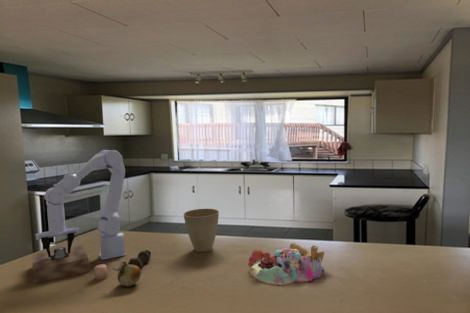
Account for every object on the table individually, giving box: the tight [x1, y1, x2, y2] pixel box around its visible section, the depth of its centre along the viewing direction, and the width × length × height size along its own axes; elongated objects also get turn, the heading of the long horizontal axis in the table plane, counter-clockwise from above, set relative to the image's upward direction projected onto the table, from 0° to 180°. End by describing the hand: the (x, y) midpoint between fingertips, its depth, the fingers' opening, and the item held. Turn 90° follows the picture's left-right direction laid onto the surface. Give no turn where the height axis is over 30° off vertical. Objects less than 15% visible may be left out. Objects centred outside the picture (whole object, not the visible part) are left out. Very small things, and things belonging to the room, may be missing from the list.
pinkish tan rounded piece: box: [94, 263, 109, 281], centre depth 127 cm, size 4×4×4 cm
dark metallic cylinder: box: [53, 246, 67, 260], centre depth 136 cm, size 4×4×8 cm
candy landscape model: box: [247, 242, 325, 286], centre depth 126 cm, size 25×24×9 cm
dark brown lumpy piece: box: [127, 249, 152, 271], centre depth 137 cm, size 6×5×15 cm
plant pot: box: [183, 208, 220, 253], centre depth 152 cm, size 15×15×16 cm
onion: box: [112, 261, 142, 288], centre depth 120 cm, size 8×8×8 cm
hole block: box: [32, 245, 90, 284], centre depth 137 cm, size 18×18×5 cm
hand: (59, 254), depth 136 cm, fingers open, 6 cm apart
